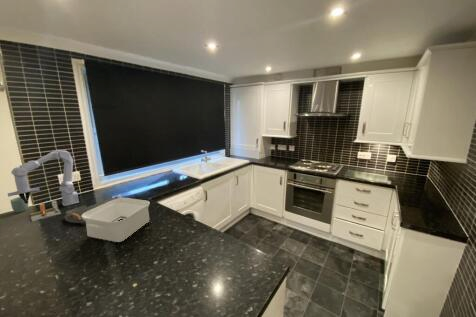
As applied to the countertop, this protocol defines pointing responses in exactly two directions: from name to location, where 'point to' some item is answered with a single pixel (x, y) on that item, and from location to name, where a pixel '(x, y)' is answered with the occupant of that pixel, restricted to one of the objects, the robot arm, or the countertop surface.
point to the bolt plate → (48, 214)
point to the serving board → (77, 215)
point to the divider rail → (54, 205)
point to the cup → (18, 205)
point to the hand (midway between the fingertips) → (26, 203)
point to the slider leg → (42, 208)
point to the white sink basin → (116, 219)
